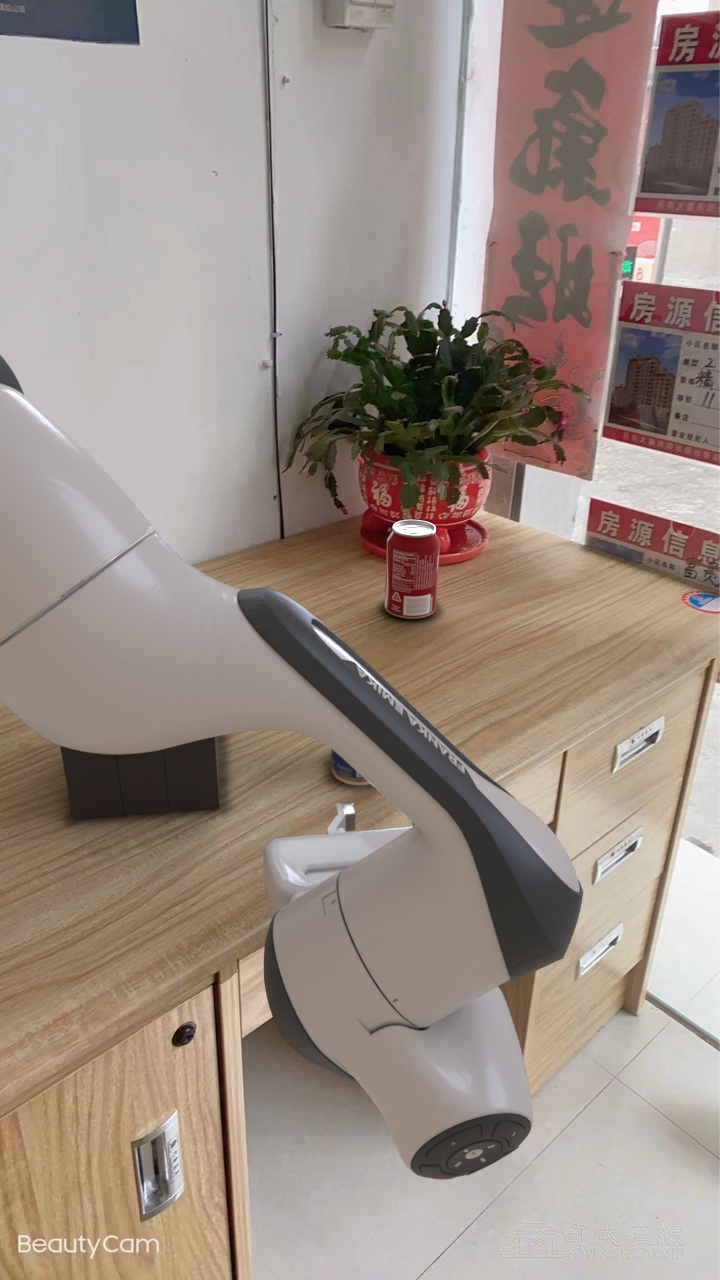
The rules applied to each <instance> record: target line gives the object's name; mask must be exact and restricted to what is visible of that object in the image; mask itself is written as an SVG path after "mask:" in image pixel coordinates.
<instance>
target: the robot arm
mask: <svg viewBox="0 0 720 1280" xmlns="http://www.w3.org/2000/svg"><path fill="white" fill-rule="evenodd" d="M151 529H153V525H152V524H151V523H150V521H149V520H148V519H147V517H146V516H145V515H144V514H143V513H142V512H141V510H140V509H139V508H138V506H137V505H136V504H135V503H134V502H133V501H132V499H131V498H130V497H129V495H128V494H127V493H126V492H125V491H124V490H123V489H122V488H121V487H120V486H119V484H118V483H117V482H116V481H115V480H114V479H113V477H112V476H111V475H109V473H108V472H107V471H106V470H105V469H104V468H103V467H102V466H101V465H100V464H99V463H98V462H97V461H96V460H95V458H93V456H91V455H90V453H88V451H87V450H86V449H85V448H84V447H83V446H82V445H81V444H80V443H79V442H77V440H76V439H75V438H74V437H72V436H71V435H70V434H69V433H68V432H67V431H66V429H64V428H63V427H62V426H61V425H60V424H59V423H58V422H57V421H55V419H53V418H52V417H51V416H49V414H48V413H46V412H45V411H44V410H43V409H42V408H40V407H39V405H37V404H36V403H35V402H33V400H32V399H30V398H29V397H28V396H26V395H25V393H24V391H23V389H22V386H21V384H20V382H19V380H18V378H17V376H16V374H15V373H14V371H13V370H12V368H11V366H10V365H9V364H8V362H7V360H6V359H4V357H3V356H2V355H1V354H0V701H1V703H3V704H4V706H6V708H7V709H9V711H10V712H11V713H12V714H13V715H14V716H15V717H17V718H18V719H19V720H20V721H21V722H22V723H23V724H25V725H26V726H27V727H28V728H30V729H31V730H32V731H34V732H35V733H36V734H38V735H39V736H41V737H43V738H44V739H45V740H46V741H49V742H50V743H52V744H54V745H57V746H59V747H60V746H63V747H67V748H70V749H74V750H79V751H84V752H89V753H98V754H136V753H145V752H152V751H157V750H162V749H166V748H170V747H174V746H178V745H182V744H186V743H190V742H194V741H198V740H202V739H206V738H211V737H215V736H225V735H232V734H239V733H247V732H260V731H282V732H291V733H296V734H300V735H305V736H307V737H309V738H312V739H315V740H317V741H318V742H321V743H322V744H324V745H325V746H327V747H328V748H329V749H333V750H334V751H335V752H336V753H337V754H338V755H339V756H341V757H342V758H343V759H344V760H345V761H346V762H347V763H348V764H349V765H350V766H352V767H353V768H354V769H355V770H356V771H357V772H358V773H359V774H360V775H361V776H363V777H364V778H365V779H366V780H367V781H368V782H369V783H370V784H369V785H371V786H372V787H373V788H375V790H377V791H378V792H379V793H380V794H381V795H382V796H383V797H384V798H385V799H387V801H389V802H390V803H391V804H392V805H393V806H394V807H395V808H397V810H398V811H400V813H402V814H403V815H404V816H405V817H407V819H408V820H409V821H410V822H411V825H412V826H403V827H390V828H377V829H368V830H356V809H355V807H354V805H355V804H354V802H353V801H350V802H336V803H335V804H334V817H333V819H332V821H331V822H330V824H329V825H328V826H327V828H326V833H320V834H309V835H298V836H297V835H295V836H284V837H275V838H273V839H271V840H270V841H269V842H268V843H267V844H266V845H265V846H264V847H263V849H262V867H263V868H262V869H263V881H264V889H265V895H266V896H265V897H266V900H267V904H268V909H269V913H270V916H271V921H270V923H269V926H268V928H267V932H266V936H265V941H264V949H263V951H264V952H263V984H264V990H265V995H266V999H267V1004H268V1007H269V1011H270V1014H271V1016H272V1020H273V1021H274V1024H275V1026H276V1028H277V1030H278V1032H279V1033H280V1035H281V1036H282V1038H283V1039H284V1040H285V1042H286V1043H287V1044H288V1045H289V1046H290V1047H291V1048H292V1049H293V1050H294V1051H295V1052H296V1053H297V1054H299V1056H301V1057H302V1058H304V1059H305V1060H307V1061H309V1062H311V1063H312V1064H315V1065H316V1066H317V1065H318V1066H319V1067H322V1068H324V1069H326V1070H328V1071H330V1072H332V1073H334V1074H336V1075H338V1076H340V1077H342V1078H345V1079H346V1080H350V1081H352V1082H354V1083H358V1084H359V1085H360V1087H361V1088H362V1089H363V1090H364V1091H365V1092H366V1094H367V1095H368V1097H369V1098H370V1099H371V1100H372V1102H373V1103H374V1104H375V1106H376V1107H377V1109H378V1111H379V1113H380V1114H381V1116H382V1118H383V1120H384V1122H385V1124H386V1126H387V1128H388V1131H389V1133H390V1135H391V1138H392V1141H393V1143H394V1146H395V1148H396V1150H397V1153H398V1155H399V1157H400V1159H401V1161H402V1163H403V1164H404V1165H405V1167H406V1168H407V1169H408V1170H409V1171H411V1172H412V1173H413V1174H415V1175H417V1176H419V1177H421V1178H427V1179H433V1180H441V1181H443V1180H452V1179H454V1178H460V1177H464V1176H470V1175H473V1174H476V1173H477V1172H479V1171H481V1170H484V1169H485V1168H488V1167H489V1166H491V1165H493V1164H495V1163H497V1162H499V1161H500V1160H502V1159H503V1158H505V1157H507V1156H509V1155H510V1154H512V1153H513V1152H514V1151H516V1150H518V1149H519V1147H520V1146H521V1145H522V1143H523V1142H524V1141H525V1140H526V1139H527V1138H528V1136H529V1135H530V1133H531V1132H532V1128H533V1124H534V1110H533V1100H532V1094H531V1088H530V1083H529V1077H528V1072H527V1068H526V1063H525V1059H524V1056H523V1052H522V1048H521V1044H520V1041H519V1036H518V1033H517V1030H516V1027H515V1024H514V1020H513V1017H512V1014H511V1011H510V1008H509V1006H508V1002H507V999H506V998H505V995H504V993H503V991H502V990H501V988H500V987H499V986H501V985H503V984H505V983H507V982H508V981H511V982H515V981H517V980H519V979H521V978H524V977H526V976H528V975H530V974H532V973H535V972H537V971H539V970H541V969H543V968H546V967H547V966H550V965H552V964H554V963H556V962H559V961H561V960H562V959H564V958H565V956H566V953H567V951H568V949H569V947H570V944H571V941H572V939H573V936H574V934H575V930H576V927H577V925H578V921H579V918H580V913H581V910H582V903H583V898H584V890H583V885H582V884H581V882H580V880H579V878H578V874H577V872H576V868H575V866H574V864H573V862H572V859H571V857H570V855H569V854H568V852H567V850H566V849H565V847H564V845H563V844H562V842H561V840H560V839H559V838H558V837H557V835H556V834H555V833H554V832H553V830H552V829H551V828H550V826H548V824H546V822H545V821H544V820H543V819H542V818H540V816H539V815H538V814H536V813H535V812H534V811H532V809H530V808H528V807H527V806H526V805H524V804H523V803H522V802H521V801H519V800H518V799H517V798H516V797H515V796H514V795H512V794H511V793H510V792H509V791H508V790H506V789H505V788H504V787H503V786H501V785H500V784H499V783H498V782H496V780H494V779H493V778H491V776H489V775H488V774H487V773H485V772H484V771H482V770H481V769H480V768H479V767H478V766H477V765H476V764H474V763H473V762H472V761H471V759H469V758H468V757H467V756H466V755H465V754H464V753H463V752H461V751H460V750H459V748H457V747H456V746H455V745H454V744H453V743H452V742H451V741H450V740H449V739H448V738H446V736H445V735H443V733H441V731H439V730H438V729H437V727H435V726H434V725H433V724H432V723H431V722H430V721H429V720H428V719H427V718H425V716H424V715H422V713H420V712H419V710H417V709H416V707H414V706H413V705H412V704H411V702H409V701H408V700H407V699H406V698H405V697H404V696H402V694H400V692H398V690H396V688H394V687H393V686H392V685H391V684H390V683H389V681H387V680H386V679H385V678H384V677H382V676H381V674H380V673H378V672H377V671H376V669H374V668H373V667H372V666H371V665H370V664H369V663H368V662H367V661H366V660H365V659H364V658H362V657H361V656H360V655H359V654H358V653H357V652H356V651H354V649H352V648H351V647H350V646H349V645H348V644H346V642H344V641H343V640H342V639H341V638H340V637H339V636H338V635H337V634H336V633H334V632H333V631H332V630H331V629H330V628H329V627H328V626H327V625H326V624H325V623H323V622H322V621H321V620H320V619H319V618H317V617H316V616H315V615H314V614H313V613H311V612H310V611H308V610H307V609H306V608H305V607H304V606H302V605H301V604H299V603H298V602H296V601H295V600H293V599H292V598H291V597H288V596H287V595H285V594H284V593H281V592H280V591H278V590H276V589H274V588H272V587H268V586H263V587H262V586H261V587H252V588H242V589H240V588H237V587H234V586H231V585H229V584H227V583H225V582H222V581H219V580H218V579H216V578H214V577H211V576H209V574H206V573H204V572H202V571H201V570H200V569H198V568H196V567H195V566H193V565H192V564H190V563H189V562H188V561H187V560H185V559H184V558H183V557H182V556H181V555H179V554H178V553H177V552H176V551H175V550H174V549H172V547H170V545H169V544H167V542H166V541H165V540H164V539H163V538H162V537H161V534H159V533H158V532H157V531H156V530H153V531H151ZM149 531H151V532H150V533H149V534H147V533H148V532H149ZM146 534H147V535H146ZM144 535H146V536H144ZM143 536H144V537H143ZM142 537H143V538H142ZM139 539H140V540H139ZM136 541H137V542H136ZM135 542H136V543H135ZM117 555H118V556H117ZM115 556H117V557H116V558H114V557H115ZM113 558H114V559H113ZM111 559H113V560H111ZM110 560H111V561H110ZM109 561H110V562H109ZM107 562H109V563H107ZM106 563H107V564H106ZM104 564H106V565H104ZM103 565H104V566H103ZM102 566H103V567H102ZM100 567H102V568H100ZM99 568H100V569H99ZM98 569H99V570H98ZM96 570H98V571H96ZM95 571H96V572H95ZM94 572H95V573H94ZM92 573H93V574H92ZM91 574H92V575H91ZM90 575H91V576H90ZM88 576H89V577H88ZM87 577H88V578H87ZM86 578H87V579H86ZM84 579H85V580H84ZM83 580H84V581H83ZM80 582H81V583H80ZM79 583H80V584H79ZM76 585H77V586H76ZM75 586H76V587H75ZM73 587H74V588H73ZM72 588H73V589H72ZM69 590H70V591H69ZM68 591H69V592H68ZM65 593H66V594H65ZM64 594H65V595H64ZM61 596H62V597H61ZM60 597H61V598H60Z"/></svg>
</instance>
